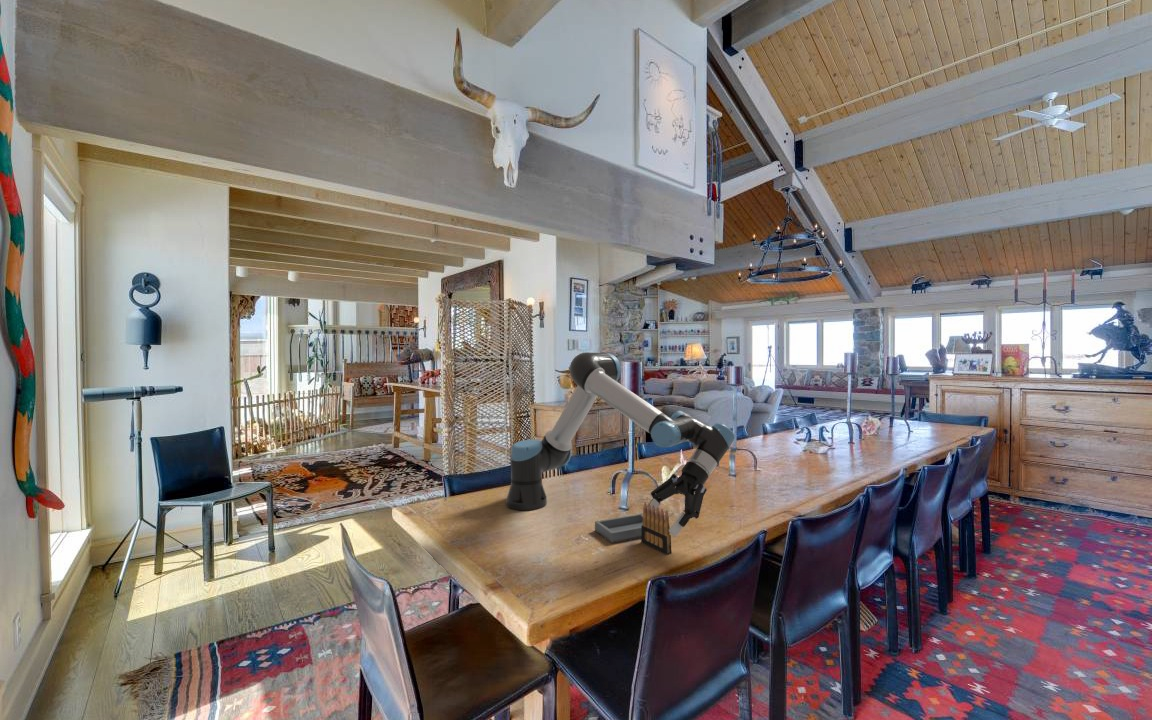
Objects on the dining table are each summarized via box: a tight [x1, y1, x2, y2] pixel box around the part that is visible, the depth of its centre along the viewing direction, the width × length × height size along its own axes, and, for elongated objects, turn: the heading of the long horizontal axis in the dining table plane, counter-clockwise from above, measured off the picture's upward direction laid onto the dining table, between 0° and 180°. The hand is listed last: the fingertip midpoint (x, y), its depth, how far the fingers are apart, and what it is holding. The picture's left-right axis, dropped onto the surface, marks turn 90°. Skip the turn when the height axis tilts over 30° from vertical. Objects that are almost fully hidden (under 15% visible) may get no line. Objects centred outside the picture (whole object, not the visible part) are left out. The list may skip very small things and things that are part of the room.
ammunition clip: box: [640, 502, 672, 556], centre depth 132 cm, size 11×2×12 cm, turn 34°
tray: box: [594, 512, 643, 544], centre depth 145 cm, size 11×20×3 cm, turn 115°
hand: (657, 526), depth 132 cm, fingers open, 13 cm apart
